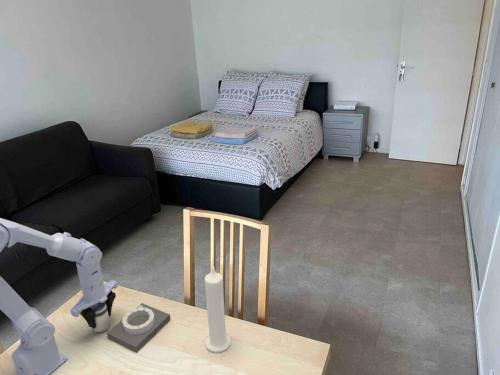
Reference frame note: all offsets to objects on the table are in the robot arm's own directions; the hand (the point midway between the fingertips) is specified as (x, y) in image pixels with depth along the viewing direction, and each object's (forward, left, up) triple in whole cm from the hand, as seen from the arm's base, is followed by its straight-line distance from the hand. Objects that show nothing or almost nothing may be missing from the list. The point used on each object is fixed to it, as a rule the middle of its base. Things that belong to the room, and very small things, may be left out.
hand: (100, 320), depth 110 cm
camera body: (+5, -10, -3) cm, 12 cm away
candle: (+11, -33, -3) cm, 35 cm away
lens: (0, 0, -2) cm, 2 cm away
